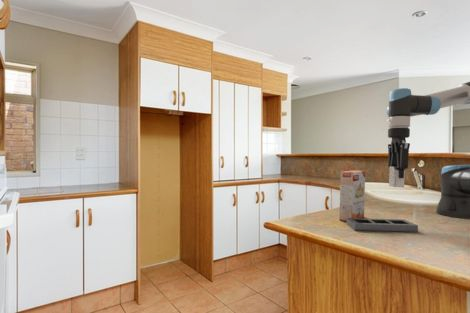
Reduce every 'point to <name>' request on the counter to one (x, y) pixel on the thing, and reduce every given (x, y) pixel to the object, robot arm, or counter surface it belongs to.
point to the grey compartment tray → (382, 225)
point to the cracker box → (352, 194)
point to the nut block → (393, 177)
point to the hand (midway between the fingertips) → (396, 185)
